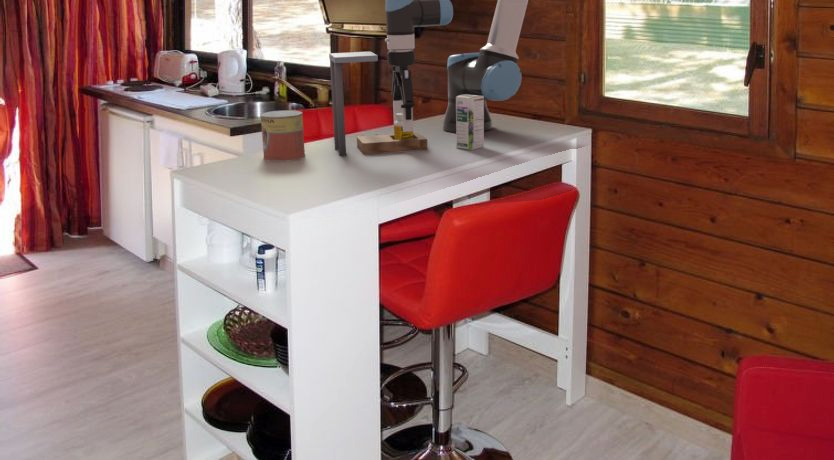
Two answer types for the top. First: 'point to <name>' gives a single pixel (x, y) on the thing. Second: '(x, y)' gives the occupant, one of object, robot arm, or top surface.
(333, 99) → the grey l-shaped post
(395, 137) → the supplement bottle
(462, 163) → the top surface
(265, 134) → the canned food
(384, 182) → the top surface
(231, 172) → the top surface
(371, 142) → the socket block
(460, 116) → the syrup box
